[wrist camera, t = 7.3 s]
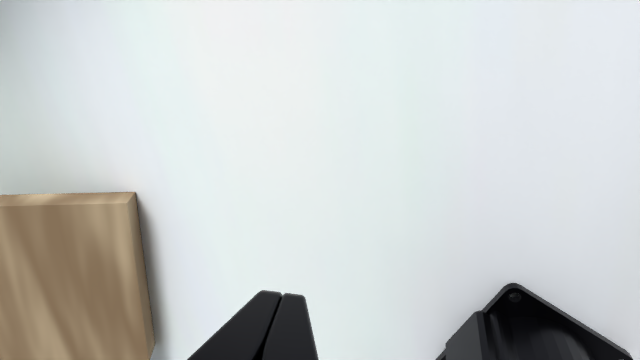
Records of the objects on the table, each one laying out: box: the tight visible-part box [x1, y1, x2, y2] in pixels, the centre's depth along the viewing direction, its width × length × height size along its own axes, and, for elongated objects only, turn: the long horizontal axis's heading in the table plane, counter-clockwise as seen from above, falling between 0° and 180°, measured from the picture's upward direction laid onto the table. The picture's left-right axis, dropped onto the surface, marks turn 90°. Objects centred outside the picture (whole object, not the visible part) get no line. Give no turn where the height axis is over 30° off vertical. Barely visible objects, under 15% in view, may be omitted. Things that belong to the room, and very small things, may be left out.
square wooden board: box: [0, 192, 155, 360], centre depth 24 cm, size 2×10×10 cm
